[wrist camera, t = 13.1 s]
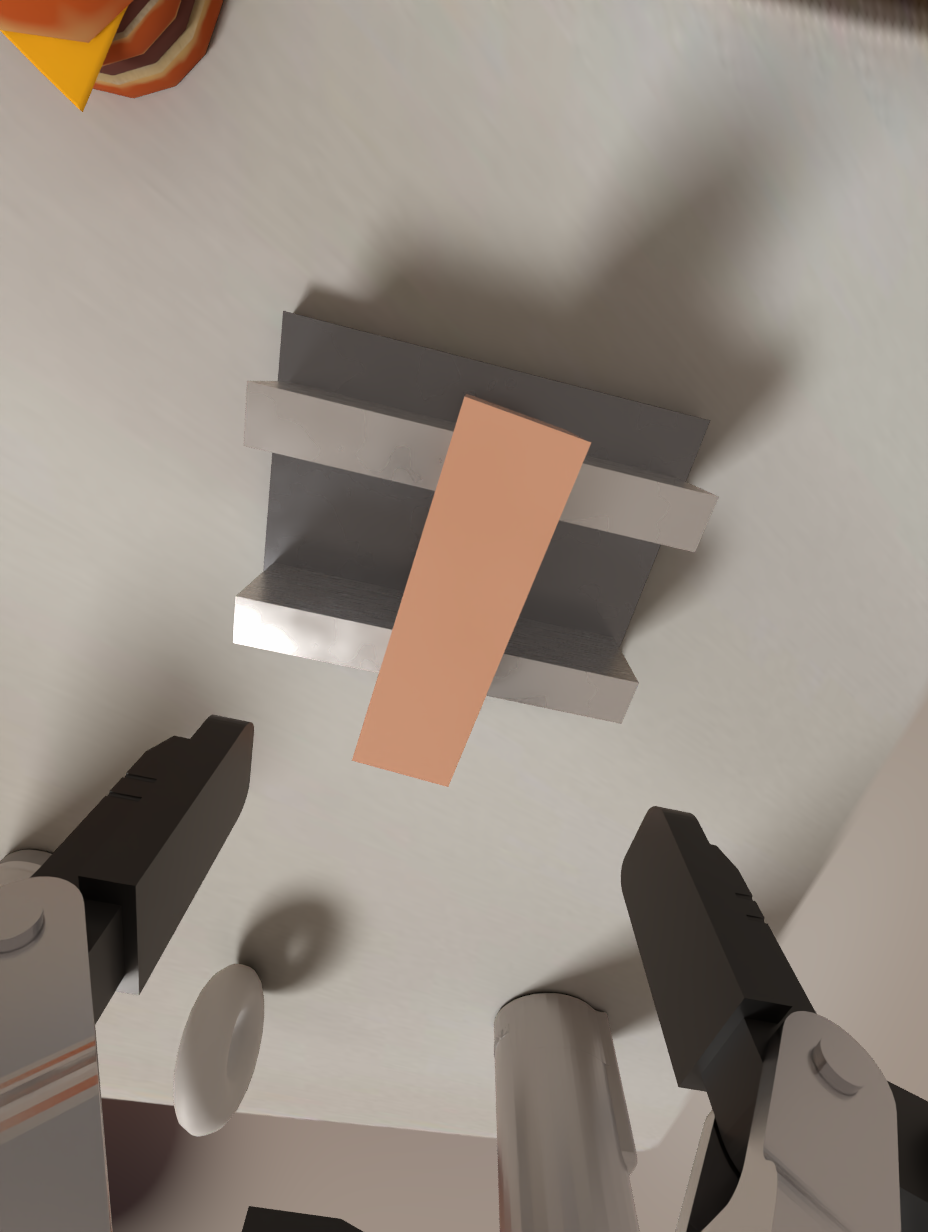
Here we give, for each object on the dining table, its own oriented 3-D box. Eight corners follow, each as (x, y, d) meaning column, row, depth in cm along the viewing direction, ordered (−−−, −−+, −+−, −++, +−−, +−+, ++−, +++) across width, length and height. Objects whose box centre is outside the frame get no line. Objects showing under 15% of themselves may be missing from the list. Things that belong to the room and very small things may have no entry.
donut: (279, 1010, 46) (231, 1166, 37) (241, 1010, 46) (183, 1165, 37) (258, 935, 42) (198, 1089, 33) (216, 935, 42) (144, 1088, 33)
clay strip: (565, 429, 20) (591, 442, 16) (453, 715, 26) (448, 786, 21) (467, 393, 20) (464, 396, 15) (374, 692, 25) (352, 760, 21)
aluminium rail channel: (699, 419, 25) (761, 428, 20) (588, 704, 32) (611, 769, 27) (292, 314, 24) (237, 293, 18) (265, 636, 31) (219, 690, 25)
